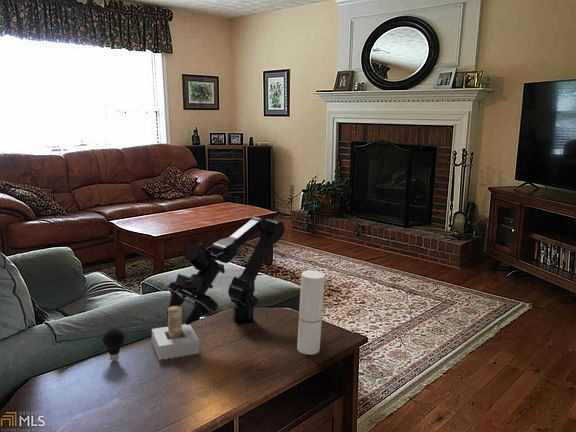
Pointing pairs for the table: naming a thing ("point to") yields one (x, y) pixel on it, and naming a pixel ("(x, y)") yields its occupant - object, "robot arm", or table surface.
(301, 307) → the cylindrical container
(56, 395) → the table surface
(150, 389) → the table surface
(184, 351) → the socket block
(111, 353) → the light bulb
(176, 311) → the peg
